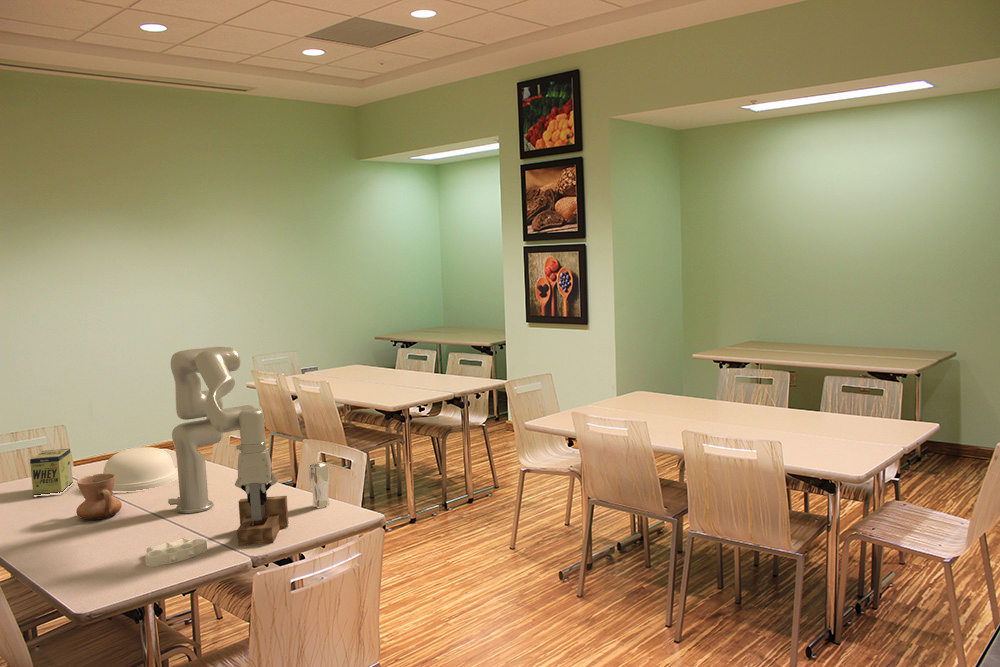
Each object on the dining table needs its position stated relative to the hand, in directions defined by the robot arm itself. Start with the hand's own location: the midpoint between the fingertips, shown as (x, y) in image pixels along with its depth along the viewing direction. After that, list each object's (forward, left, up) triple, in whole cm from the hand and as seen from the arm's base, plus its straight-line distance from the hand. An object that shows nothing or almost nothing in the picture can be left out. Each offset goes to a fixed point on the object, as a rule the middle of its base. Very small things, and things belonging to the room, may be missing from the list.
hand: (257, 503), depth 251 cm
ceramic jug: (-62, +35, -11) cm, 72 cm away
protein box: (-95, +75, -11) cm, 122 cm away
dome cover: (-63, +79, -11) cm, 102 cm away
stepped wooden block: (0, +2, -11) cm, 11 cm away
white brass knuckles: (-23, -11, -12) cm, 28 cm away
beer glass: (+16, +29, -11) cm, 35 cm away
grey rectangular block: (0, 0, -4) cm, 4 cm away
